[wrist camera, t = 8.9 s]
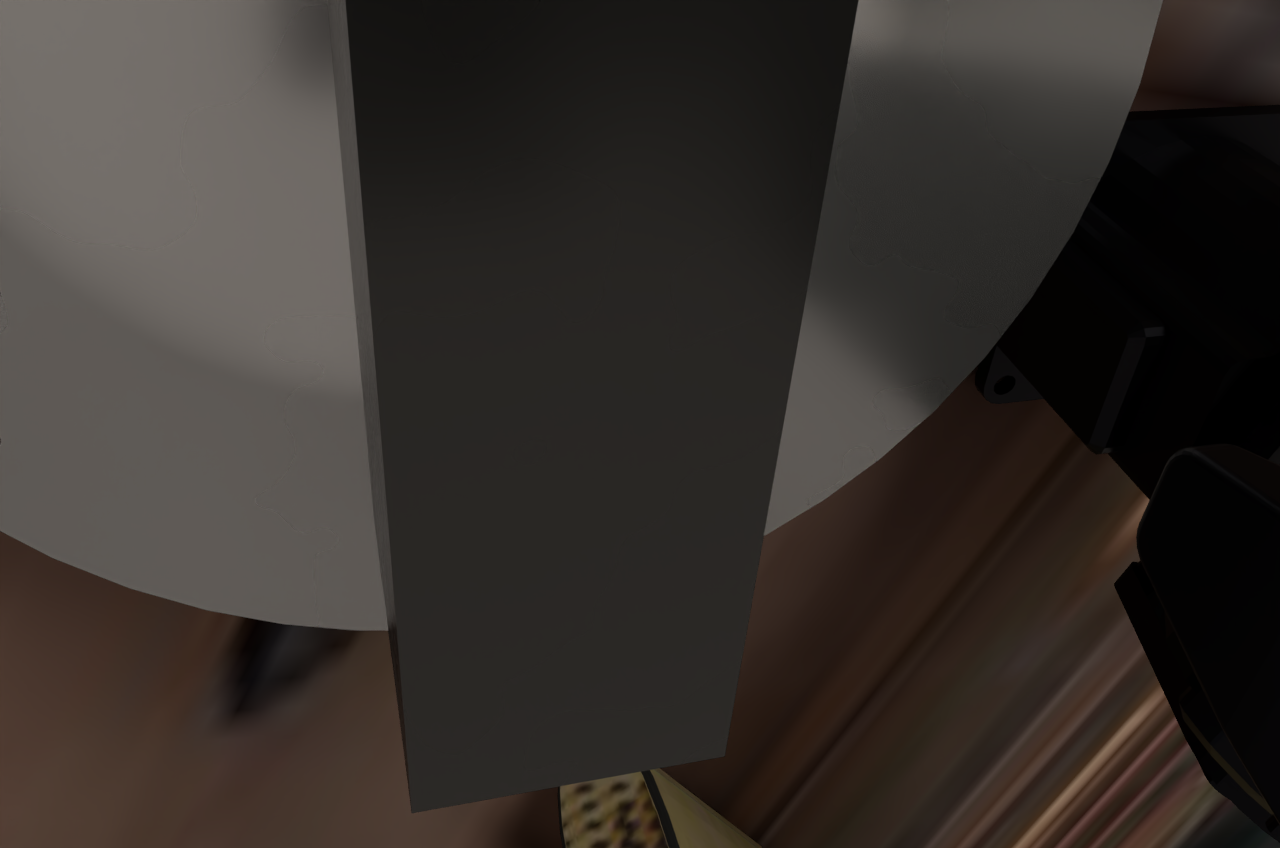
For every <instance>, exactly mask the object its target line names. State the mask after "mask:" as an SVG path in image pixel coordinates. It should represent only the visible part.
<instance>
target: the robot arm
mask: <svg viewBox="0 0 1280 848" xmlns="http://www.w3.org/2000/svg"><path fill="white" fill-rule="evenodd" d="M1004 376H1005V377H1004ZM1002 377H1004V379H1002V380H1001V381H1000V382H999V383H996V382H997V381H998V380H999V379H1000V378H1002ZM975 385H976V387H977V389H978V391H979V392H980V393H981V394H982V395H983V397H984V398H985V399H986V400H987V401H989V402H990V403H996V404H1001V403H1010V402H1019V401H1028V400H1037V399H1045V400H1046V401H1047V402H1048V404H1049V405H1050V406H1051V407H1052V408H1053V409H1054V410H1055V411H1056V413H1057V414H1058V415H1059V416H1060V417H1061V418H1062V419H1063V420H1064V422H1065V423H1066V424H1067V425H1068V426H1069V427H1070V428H1071V429H1072V431H1073V432H1074V433H1075V434H1076V435H1077V436H1078V437H1079V438H1080V440H1081V441H1082V442H1083V443H1084V444H1085V445H1086V446H1087V447H1088V448H1089V450H1090V451H1091V452H1093V453H1095V454H1103V453H1108V454H1109V456H1110V457H1111V458H1112V459H1113V460H1114V461H1115V462H1116V463H1117V464H1118V465H1119V467H1120V468H1121V469H1122V470H1123V471H1124V472H1125V473H1126V474H1127V475H1128V476H1129V478H1130V479H1131V480H1132V481H1133V482H1134V483H1135V484H1136V485H1137V486H1138V487H1139V489H1140V490H1141V491H1142V492H1143V493H1144V494H1145V495H1146V496H1147V497H1148V499H1149V500H1150V501H1149V503H1148V505H1147V508H1146V510H1145V512H1144V514H1143V517H1142V519H1141V521H1140V523H1139V526H1138V529H1137V537H1136V539H1137V549H1138V554H1139V557H1140V561H1139V562H1132V563H1131V564H1130V565H1129V567H1128V568H1127V569H1126V570H1125V571H1124V573H1123V574H1122V575H1121V576H1120V577H1119V579H1118V580H1117V581H1116V582H1115V583H1114V586H1115V589H1116V591H1117V593H1118V595H1119V597H1120V599H1121V601H1122V604H1123V606H1124V608H1125V610H1126V612H1127V614H1128V616H1129V619H1130V621H1131V623H1132V625H1133V627H1134V629H1135V631H1136V634H1137V636H1138V638H1139V640H1140V642H1141V644H1142V646H1143V649H1144V651H1145V653H1146V655H1147V657H1148V659H1149V661H1150V664H1151V666H1152V668H1153V670H1154V672H1155V674H1156V676H1157V679H1158V681H1159V683H1160V685H1161V687H1162V689H1163V691H1164V694H1165V696H1166V698H1167V700H1168V702H1169V704H1170V706H1171V709H1172V711H1173V713H1174V715H1175V717H1176V719H1177V721H1178V724H1179V726H1180V728H1181V730H1182V732H1183V734H1184V736H1185V739H1186V741H1187V742H1188V744H1189V746H1190V747H1191V749H1192V751H1193V753H1194V754H1195V756H1196V758H1197V760H1198V762H1199V764H1200V766H1201V768H1202V770H1203V772H1204V775H1205V777H1206V778H1207V780H1208V781H1209V783H1210V784H1211V785H1212V786H1213V787H1214V788H1215V789H1216V790H1217V791H1218V792H1220V793H1221V794H1222V795H1224V796H1225V797H1227V798H1228V799H1230V800H1231V801H1232V802H1233V803H1234V804H1235V805H1236V806H1237V807H1238V808H1239V809H1240V810H1241V811H1242V812H1243V813H1244V814H1245V815H1246V816H1248V817H1249V818H1250V819H1251V820H1252V821H1253V822H1254V823H1255V824H1257V825H1258V826H1259V827H1260V828H1261V829H1262V830H1263V831H1265V832H1266V833H1267V834H1269V835H1270V836H1271V837H1273V838H1274V839H1276V840H1277V841H1278V842H1280V105H1267V106H1245V107H1223V108H1201V109H1179V110H1157V111H1135V112H1129V113H1128V115H1127V118H1126V120H1125V123H1124V126H1123V128H1122V131H1121V133H1120V136H1119V138H1118V141H1117V143H1116V146H1115V149H1114V151H1113V154H1112V156H1111V159H1110V161H1109V163H1108V165H1107V167H1106V169H1105V171H1104V173H1103V175H1102V177H1101V179H1100V181H1099V183H1098V185H1097V187H1096V189H1095V191H1094V193H1093V195H1092V197H1091V199H1090V201H1089V203H1088V205H1087V206H1086V208H1085V210H1084V212H1083V214H1082V216H1081V218H1080V220H1079V222H1078V224H1077V226H1076V228H1075V230H1074V232H1073V234H1072V235H1071V237H1070V238H1069V240H1068V242H1067V243H1066V245H1065V246H1064V248H1063V249H1062V251H1061V253H1060V254H1059V256H1058V257H1057V259H1056V260H1055V262H1054V263H1053V265H1052V267H1051V268H1050V270H1049V271H1048V273H1047V274H1046V276H1045V278H1044V279H1043V281H1042V282H1041V284H1040V285H1039V287H1038V288H1037V290H1036V292H1035V293H1034V295H1033V296H1032V298H1031V299H1030V301H1029V302H1028V303H1027V304H1026V306H1025V307H1024V308H1023V310H1022V311H1021V312H1020V313H1019V315H1018V316H1017V317H1016V318H1015V320H1014V321H1013V322H1012V324H1011V325H1010V326H1009V327H1008V329H1007V330H1006V331H1005V333H1004V334H1003V335H1002V336H1001V338H1000V339H999V340H998V341H997V343H996V344H995V345H994V347H993V348H992V349H991V350H990V352H989V353H988V354H987V356H986V357H985V358H984V359H983V360H982V361H981V362H980V363H979V366H978V370H977V373H976V377H975Z"/></svg>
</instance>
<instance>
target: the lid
mask: <svg viewBox="0 0 1280 848" xmlns="http://www.w3.org/2000/svg"><path fill="white" fill-rule="evenodd" d="M1162 2H1163V0H0V531H1V532H3V533H5V534H7V535H9V536H11V537H13V538H15V539H17V540H18V541H20V542H22V543H24V544H26V545H28V546H30V547H32V548H34V549H36V550H38V551H40V552H42V553H44V554H46V555H47V556H49V557H51V558H54V559H56V560H59V561H61V562H64V563H66V564H69V565H71V566H74V567H77V568H79V569H82V570H84V571H87V572H89V573H92V574H94V575H97V576H99V577H102V578H104V579H107V580H110V581H112V582H115V583H117V584H120V585H122V586H125V587H127V588H130V589H133V590H137V591H140V592H144V593H147V594H151V595H155V596H158V597H162V598H165V599H169V600H172V601H176V602H179V603H183V604H186V605H190V606H193V607H197V608H201V609H204V610H208V611H213V612H219V613H224V614H230V615H235V616H241V617H246V618H252V619H257V620H263V621H268V622H274V623H280V624H287V625H298V626H310V627H322V628H334V629H346V630H357V631H370V630H388V632H389V640H390V648H391V656H392V663H393V671H394V679H395V687H396V695H397V702H398V710H399V718H400V726H401V733H402V741H403V749H404V757H405V765H406V772H407V780H408V788H409V796H410V803H411V811H412V813H416V812H421V811H427V810H432V809H438V808H443V807H449V806H454V805H460V804H465V803H471V802H476V801H482V800H487V799H493V798H498V797H504V796H509V795H515V794H520V793H526V792H531V791H537V790H542V789H548V788H553V787H559V786H564V785H570V784H575V783H581V782H586V781H592V780H597V779H603V778H609V777H614V776H620V775H625V774H631V773H636V772H642V771H647V770H653V769H658V768H664V767H669V766H675V765H680V764H686V763H691V762H697V761H702V760H708V759H713V758H719V757H724V756H725V752H726V746H727V740H728V735H729V729H730V723H731V718H732V712H733V706H734V701H735V695H736V689H737V684H738V678H739V673H740V667H741V661H742V656H743V650H744V644H745V639H746V633H747V627H748V622H749V616H750V610H751V605H752V599H753V594H754V588H755V582H756V577H757V571H758V565H759V560H760V554H761V548H762V543H763V537H764V536H765V535H767V534H768V533H770V532H772V531H773V530H775V529H777V528H778V527H780V526H782V525H783V524H785V523H787V522H788V521H790V520H792V519H793V518H795V517H797V516H798V515H800V514H802V513H803V512H805V511H806V510H808V509H810V508H811V507H813V506H815V505H816V504H818V503H820V502H821V501H823V500H825V499H826V498H827V497H829V496H830V495H831V494H833V493H834V492H836V491H837V490H838V489H840V488H841V487H842V486H844V485H845V484H846V483H848V482H849V481H851V480H852V479H853V478H855V477H856V476H857V475H859V474H860V473H861V472H863V471H864V470H866V469H867V468H868V467H870V466H871V465H872V464H874V463H875V462H876V461H878V460H879V459H881V458H882V457H883V456H884V455H885V454H886V453H887V452H889V451H890V450H891V449H892V448H893V447H894V446H895V445H896V444H898V443H899V442H900V441H901V440H902V439H903V438H904V437H906V436H907V435H908V434H909V433H910V432H911V431H912V430H913V429H915V428H916V427H917V426H918V425H919V424H920V423H921V422H923V421H924V420H925V419H926V418H927V417H928V416H929V415H931V414H932V413H933V412H934V411H935V410H936V409H937V408H938V407H939V406H940V405H941V404H942V402H943V401H944V400H945V399H946V398H947V397H948V396H949V395H950V394H951V393H952V392H953V391H954V390H955V389H956V388H957V387H958V386H959V385H960V383H961V382H962V381H963V380H964V379H965V378H966V377H967V376H968V375H969V374H970V373H971V372H972V371H973V370H974V369H975V368H976V367H977V365H978V364H979V363H980V362H981V361H982V360H983V359H984V358H985V357H986V356H987V354H988V353H989V352H990V350H991V349H992V348H993V347H994V345H995V344H996V343H997V341H998V340H999V339H1000V338H1001V336H1002V335H1003V334H1004V333H1005V331H1006V330H1007V329H1008V327H1009V326H1010V325H1011V324H1012V322H1013V321H1014V320H1015V318H1016V317H1017V316H1018V315H1019V313H1020V312H1021V311H1022V310H1023V308H1024V307H1025V306H1026V304H1027V303H1028V302H1029V301H1030V299H1031V298H1032V296H1033V295H1034V293H1035V292H1036V290H1037V288H1038V287H1039V285H1040V284H1041V282H1042V281H1043V279H1044V278H1045V276H1046V274H1047V273H1048V271H1049V270H1050V268H1051V267H1052V265H1053V263H1054V262H1055V260H1056V259H1057V257H1058V256H1059V254H1060V253H1061V251H1062V249H1063V248H1064V246H1065V245H1066V243H1067V242H1068V240H1069V238H1070V237H1071V235H1072V234H1073V232H1074V230H1075V228H1076V226H1077V224H1078V222H1079V220H1080V218H1081V216H1082V214H1083V212H1084V210H1085V208H1086V206H1087V205H1088V203H1089V201H1090V199H1091V197H1092V195H1093V193H1094V191H1095V189H1096V187H1097V185H1098V183H1099V181H1100V179H1101V177H1102V175H1103V173H1104V171H1105V169H1106V167H1107V165H1108V163H1109V161H1110V159H1111V156H1112V154H1113V151H1114V149H1115V146H1116V143H1117V141H1118V138H1119V136H1120V133H1121V131H1122V128H1123V126H1124V123H1125V120H1126V118H1127V115H1128V113H1129V110H1130V108H1131V105H1132V102H1133V100H1134V97H1135V95H1136V92H1137V90H1138V87H1139V85H1140V82H1141V78H1142V74H1143V71H1144V67H1145V63H1146V60H1147V56H1148V52H1149V49H1150V45H1151V42H1152V38H1153V34H1154V31H1155V27H1156V23H1157V20H1158V16H1159V13H1160V9H1161V5H1162Z"/></svg>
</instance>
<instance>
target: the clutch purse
mask: <svg viewBox="0 0 1280 848" xmlns="http://www.w3.org/2000/svg"><path fill="white" fill-rule="evenodd" d="M558 808H559V824H560V834H561V840H562V846H563V848H763V847H762V846H760V845H759V844H758V843H756V842H755V841H754V840H752V839H751V838H750V837H748V836H747V835H746V834H745V833H743V832H742V831H741V830H739V829H738V828H737V827H735V826H734V825H733V824H731V823H730V822H729V821H728V820H726V819H725V818H724V817H722V816H721V815H720V814H718V813H717V812H716V811H714V810H713V809H712V808H711V807H709V806H708V805H707V804H705V803H704V802H703V801H701V800H700V799H699V798H698V797H696V796H695V795H694V794H692V793H691V792H690V791H688V790H687V789H686V788H684V787H683V786H682V785H681V784H679V783H678V782H677V781H675V780H674V779H673V778H671V777H670V776H669V775H667V774H666V773H665V772H664V771H662V770H661V769H660V768H658V769H653V770H647V771H642V772H636V773H631V774H625V775H620V776H614V777H609V778H603V779H597V780H592V781H586V782H581V783H575V784H570V785H564V786H559V787H558Z"/></svg>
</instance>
